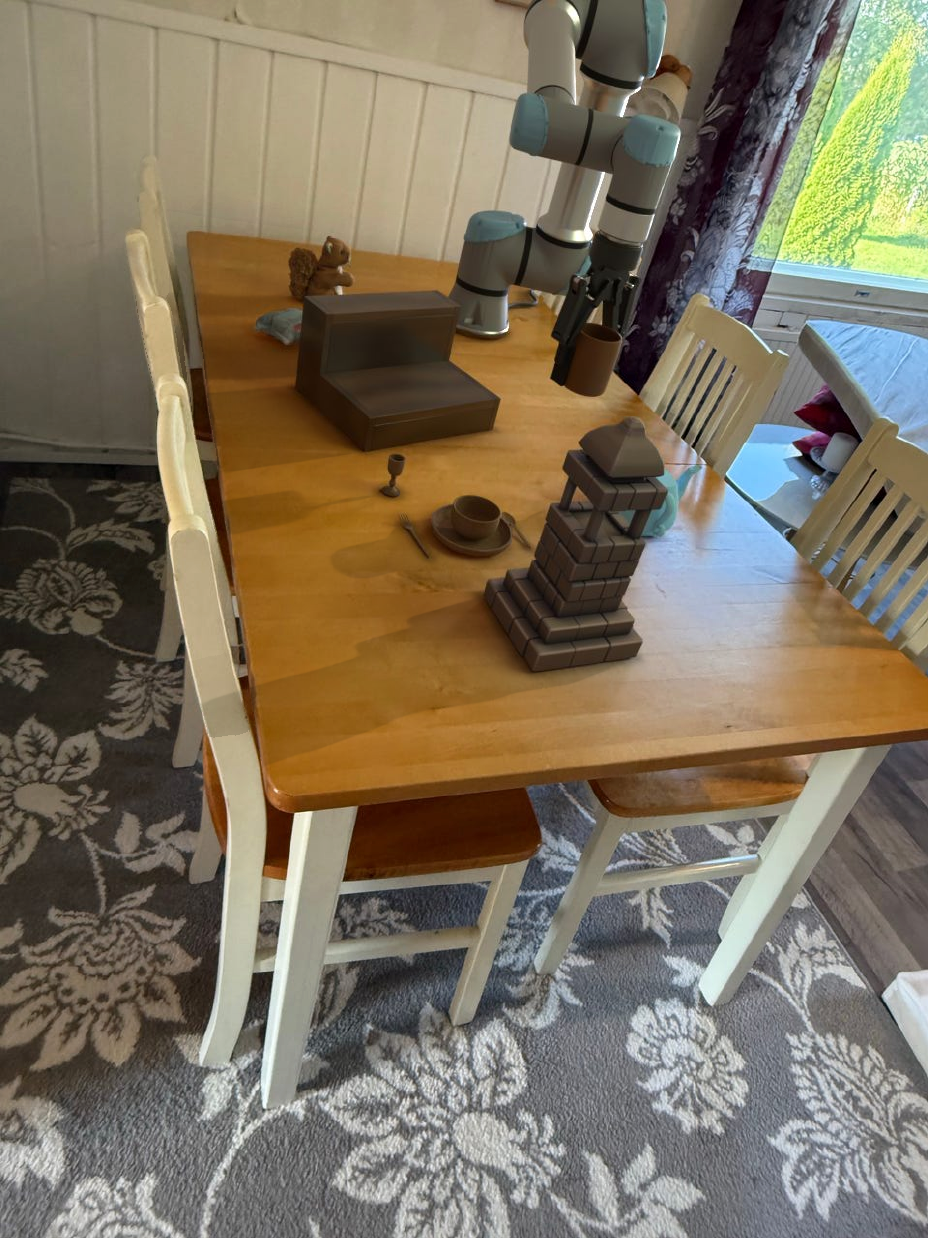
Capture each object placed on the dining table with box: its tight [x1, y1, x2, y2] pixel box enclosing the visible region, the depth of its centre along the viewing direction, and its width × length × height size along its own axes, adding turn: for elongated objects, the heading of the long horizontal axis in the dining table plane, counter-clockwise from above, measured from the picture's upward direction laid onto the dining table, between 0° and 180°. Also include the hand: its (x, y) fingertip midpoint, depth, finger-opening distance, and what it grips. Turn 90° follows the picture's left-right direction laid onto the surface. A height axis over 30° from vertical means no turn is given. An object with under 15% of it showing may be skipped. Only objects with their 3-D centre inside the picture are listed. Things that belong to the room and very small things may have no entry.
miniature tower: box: [482, 416, 668, 672], centre depth 102 cm, size 16×15×30 cm
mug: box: [563, 321, 623, 398], centre depth 138 cm, size 12×8×9 cm, turn 22°
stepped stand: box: [294, 289, 502, 453], centre depth 144 cm, size 22×27×16 cm
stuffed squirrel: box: [287, 235, 355, 303], centre depth 175 cm, size 10×14×13 cm
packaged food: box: [254, 307, 303, 346], centre depth 160 cm, size 9×12×5 cm
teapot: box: [619, 465, 703, 538], centre depth 133 cm, size 13×14×11 cm
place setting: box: [381, 452, 532, 558], centre depth 123 cm, size 18×20×6 cm
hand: (574, 379), depth 140 cm, fingers closed on mug, 7 cm apart
